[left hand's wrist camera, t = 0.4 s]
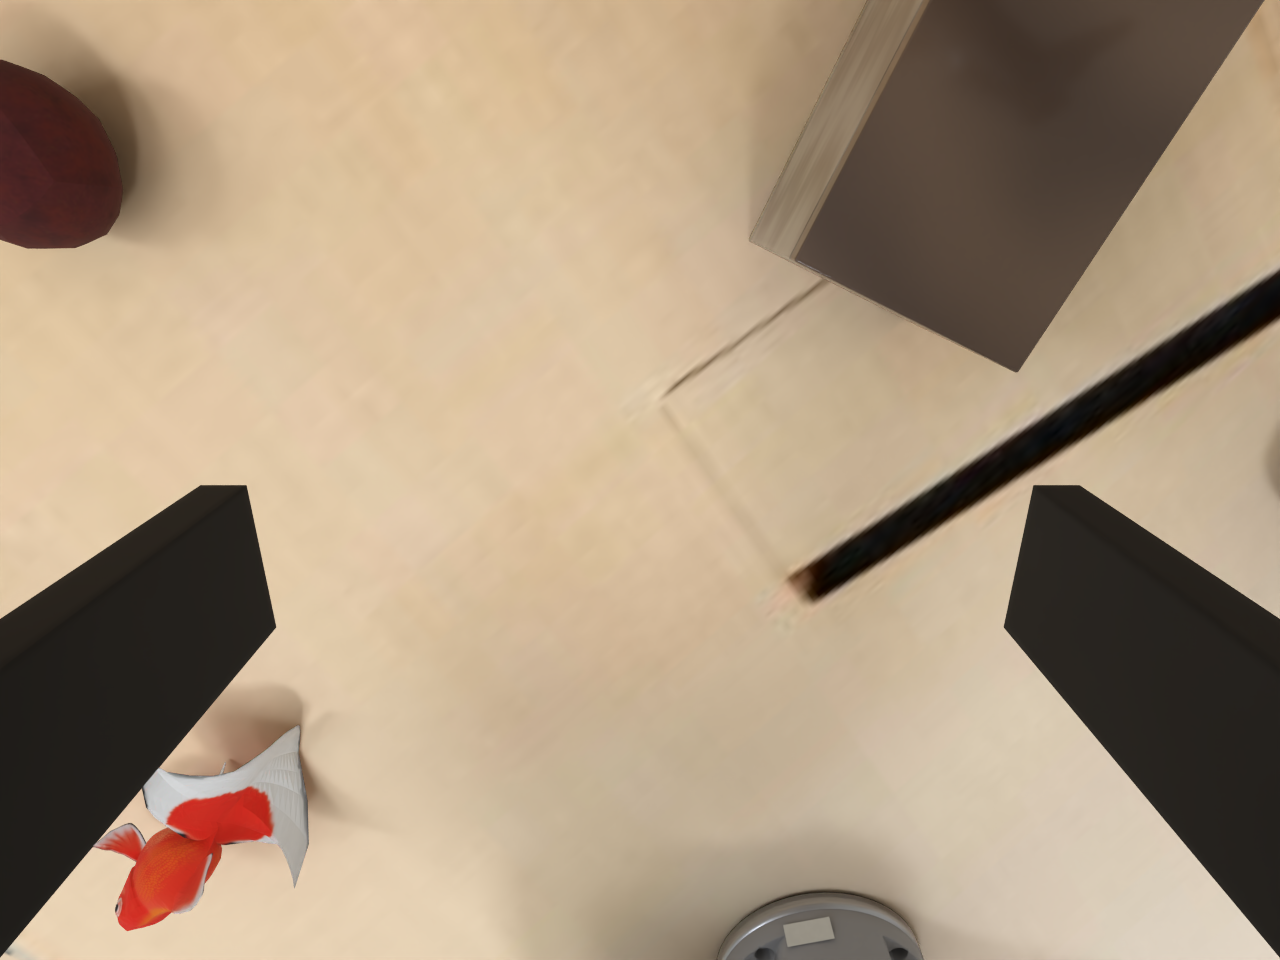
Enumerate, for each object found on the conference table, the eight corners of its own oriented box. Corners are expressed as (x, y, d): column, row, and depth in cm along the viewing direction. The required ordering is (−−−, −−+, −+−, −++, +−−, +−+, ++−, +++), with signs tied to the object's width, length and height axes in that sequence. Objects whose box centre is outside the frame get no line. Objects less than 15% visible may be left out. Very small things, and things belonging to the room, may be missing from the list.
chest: (942, -154, 31) (1087, -319, 21) (1124, -40, 32) (1341, -144, 22) (748, 240, 37) (788, 258, 27) (909, 321, 38) (1005, 367, 28)
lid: (1108, -358, 21) (1391, -691, 13) (1364, -178, 22) (1757, -379, 14) (788, 259, 27) (850, 286, 19) (1006, 368, 28) (1146, 435, 20)
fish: (15, 816, 44) (-8, 964, 37) (245, 645, 48) (267, 747, 40) (155, 881, 51) (160, 1017, 43) (348, 726, 54) (384, 827, 47)
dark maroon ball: (65, 37, 33) (-76, 0, 27) (192, 190, 36) (91, 190, 29) (-40, 137, 35) (-198, 124, 28) (88, 277, 37) (-30, 296, 31)
